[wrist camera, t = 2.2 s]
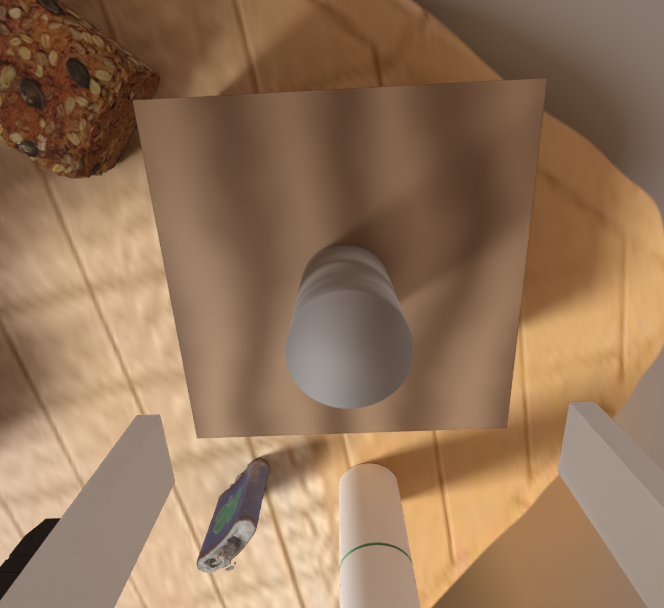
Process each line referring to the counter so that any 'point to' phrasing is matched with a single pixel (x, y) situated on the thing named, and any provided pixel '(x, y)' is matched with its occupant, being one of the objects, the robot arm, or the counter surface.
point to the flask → (234, 518)
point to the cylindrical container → (374, 541)
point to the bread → (66, 88)
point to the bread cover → (346, 252)
